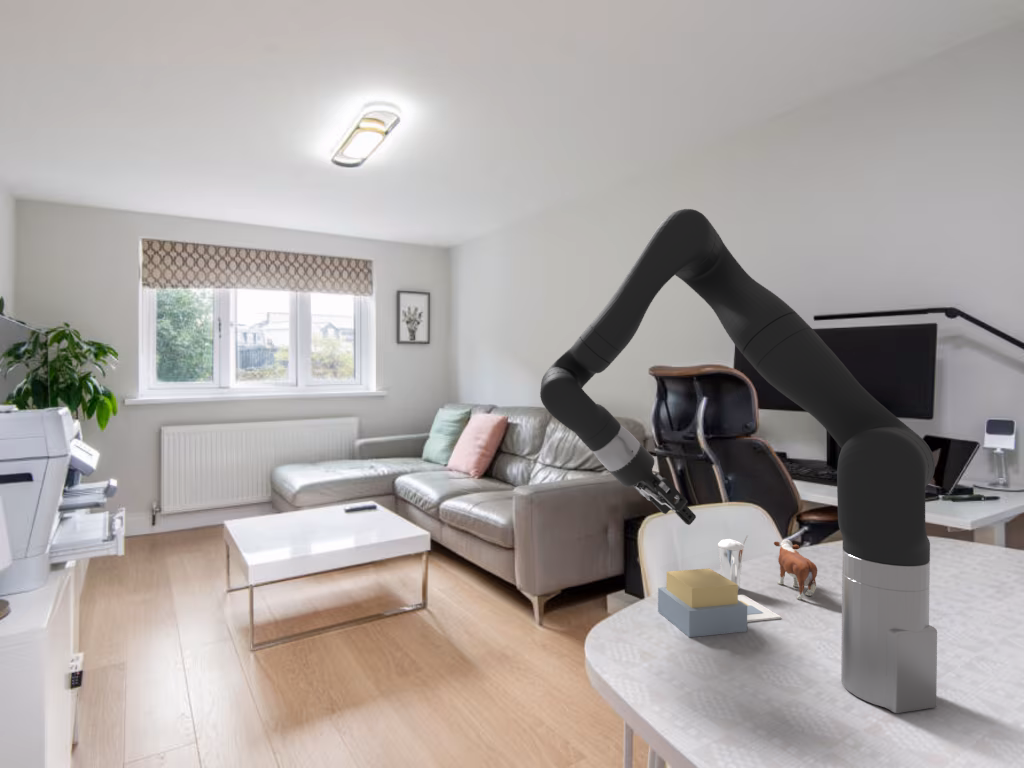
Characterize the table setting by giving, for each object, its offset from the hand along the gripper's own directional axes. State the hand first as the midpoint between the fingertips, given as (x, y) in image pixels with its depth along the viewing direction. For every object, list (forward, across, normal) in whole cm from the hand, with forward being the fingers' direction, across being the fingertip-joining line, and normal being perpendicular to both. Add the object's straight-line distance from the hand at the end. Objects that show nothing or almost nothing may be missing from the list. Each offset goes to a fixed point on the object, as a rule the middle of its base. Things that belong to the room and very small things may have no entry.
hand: (679, 515), depth 105 cm
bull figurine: (+26, -3, -5) cm, 27 cm away
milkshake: (+18, 0, +2) cm, 18 cm away
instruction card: (+15, -9, +5) cm, 18 cm away
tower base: (+8, -12, +12) cm, 19 cm away
